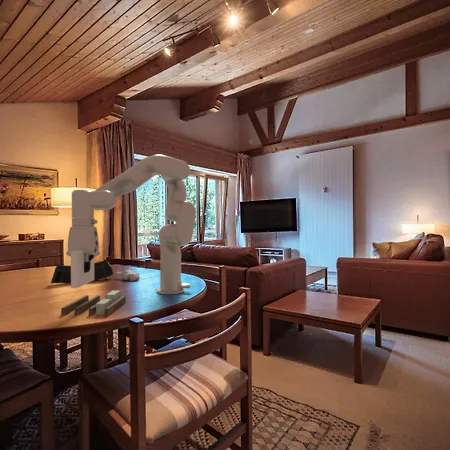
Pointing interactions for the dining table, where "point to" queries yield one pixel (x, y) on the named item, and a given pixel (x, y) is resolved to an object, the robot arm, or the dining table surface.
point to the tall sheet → (80, 269)
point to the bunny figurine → (129, 275)
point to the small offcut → (102, 306)
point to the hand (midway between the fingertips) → (83, 271)
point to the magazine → (64, 272)
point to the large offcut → (113, 296)
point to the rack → (90, 306)
